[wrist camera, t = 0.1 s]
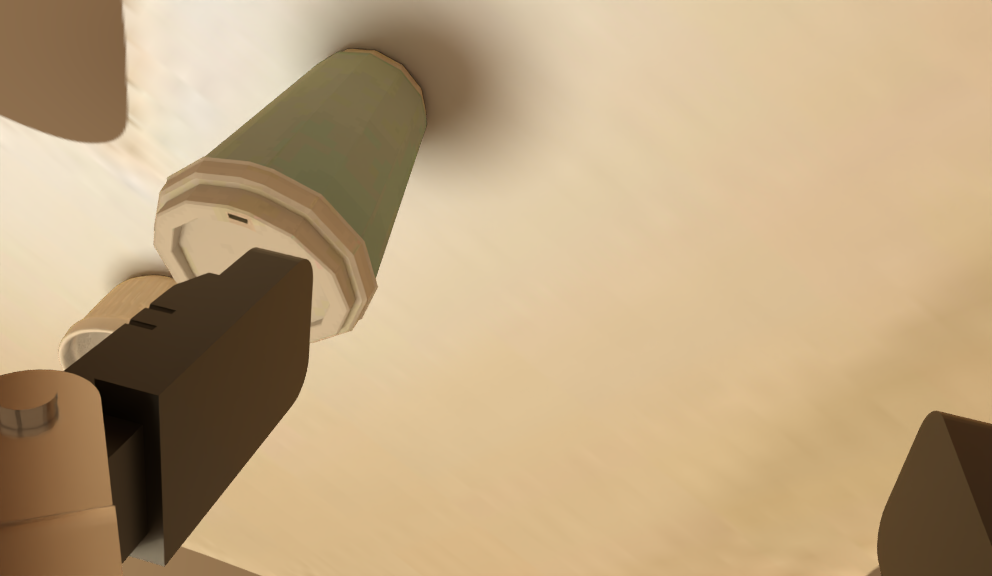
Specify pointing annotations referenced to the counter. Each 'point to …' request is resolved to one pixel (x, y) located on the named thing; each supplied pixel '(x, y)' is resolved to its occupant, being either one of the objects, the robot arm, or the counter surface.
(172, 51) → the counter surface
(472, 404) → the counter surface
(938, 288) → the counter surface
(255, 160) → the disposable coffee cup
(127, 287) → the ramekin
